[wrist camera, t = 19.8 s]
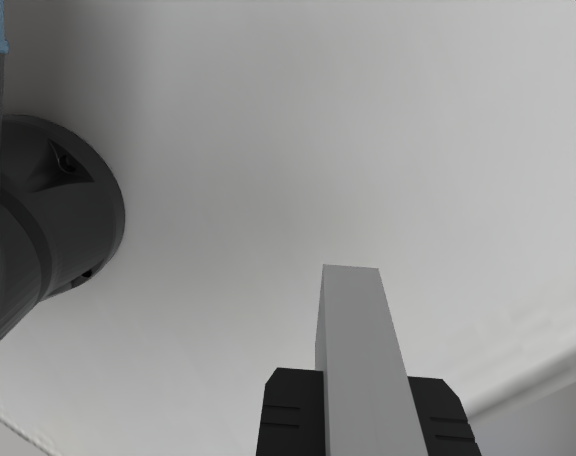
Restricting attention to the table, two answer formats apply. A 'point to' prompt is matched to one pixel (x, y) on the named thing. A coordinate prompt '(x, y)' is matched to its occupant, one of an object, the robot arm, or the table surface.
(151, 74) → the table surface
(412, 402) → the robot arm
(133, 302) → the table surface
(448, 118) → the table surface
